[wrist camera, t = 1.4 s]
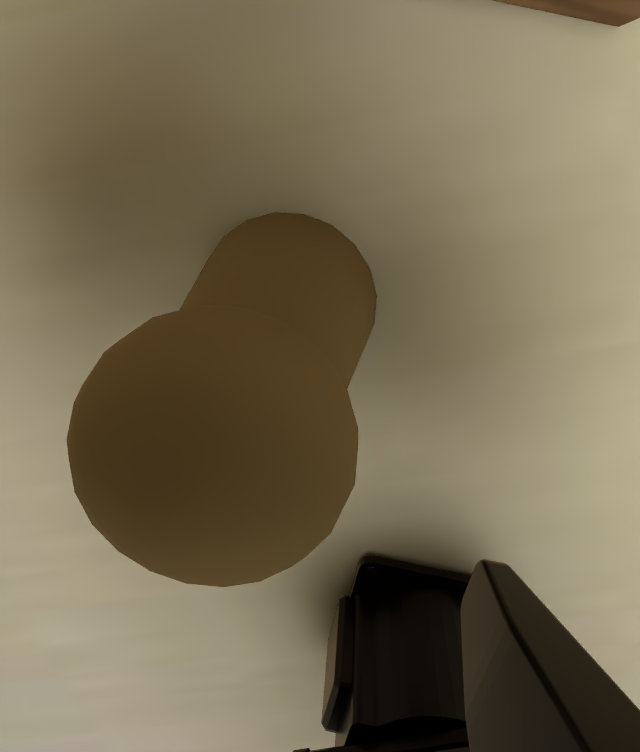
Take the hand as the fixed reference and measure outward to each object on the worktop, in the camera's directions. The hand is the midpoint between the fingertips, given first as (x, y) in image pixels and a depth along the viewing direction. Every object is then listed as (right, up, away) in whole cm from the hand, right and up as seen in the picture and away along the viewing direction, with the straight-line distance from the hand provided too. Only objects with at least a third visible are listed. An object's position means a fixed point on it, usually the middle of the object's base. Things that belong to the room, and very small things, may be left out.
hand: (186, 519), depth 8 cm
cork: (+1, +5, +10) cm, 12 cm away
